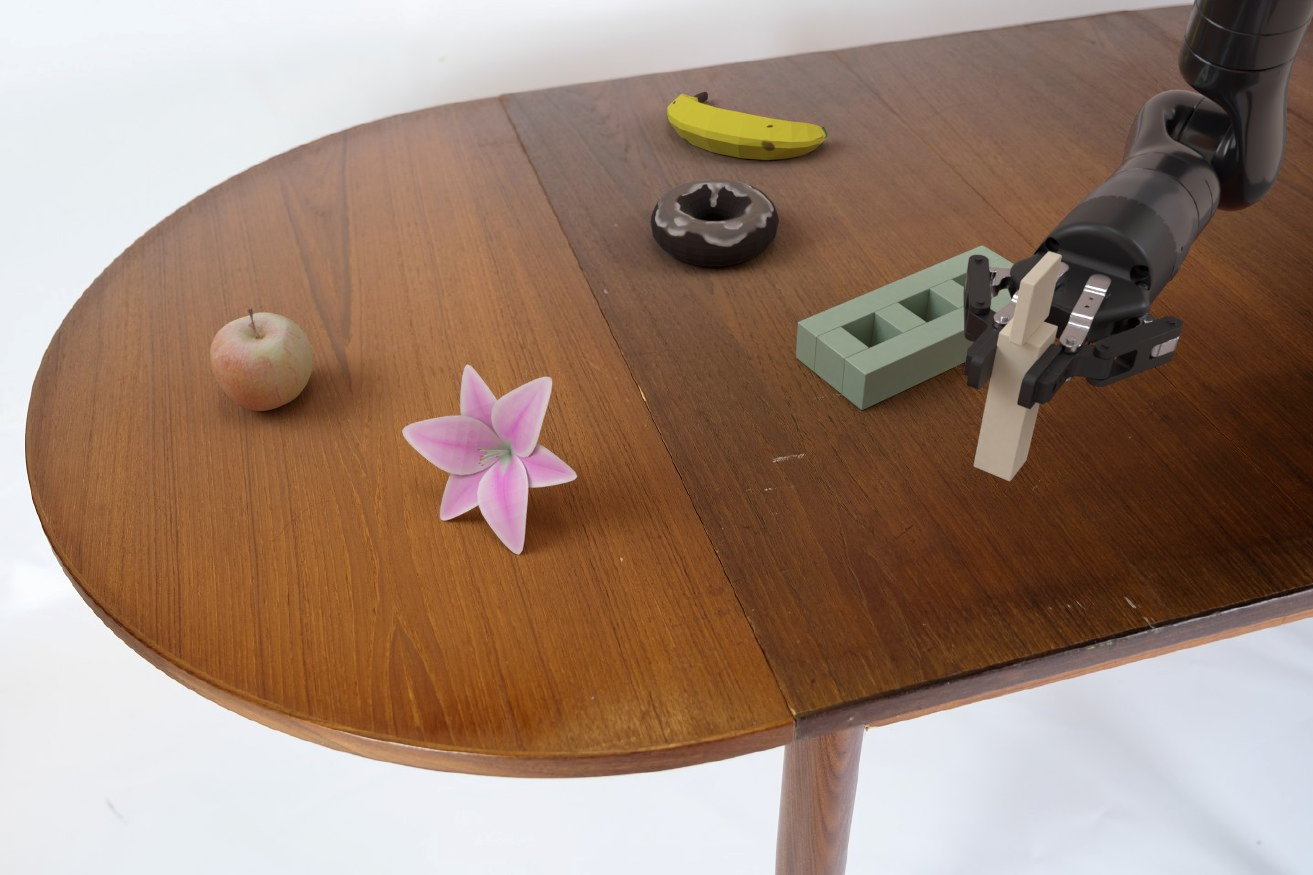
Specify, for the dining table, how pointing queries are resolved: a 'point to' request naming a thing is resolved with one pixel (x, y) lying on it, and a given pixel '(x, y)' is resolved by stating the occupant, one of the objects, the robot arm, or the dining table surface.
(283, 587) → the dining table surface
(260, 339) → the fruit
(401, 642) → the dining table surface
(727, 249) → the donut
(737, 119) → the banana
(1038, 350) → the cream offset-tab post
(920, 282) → the caddy
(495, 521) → the lily
